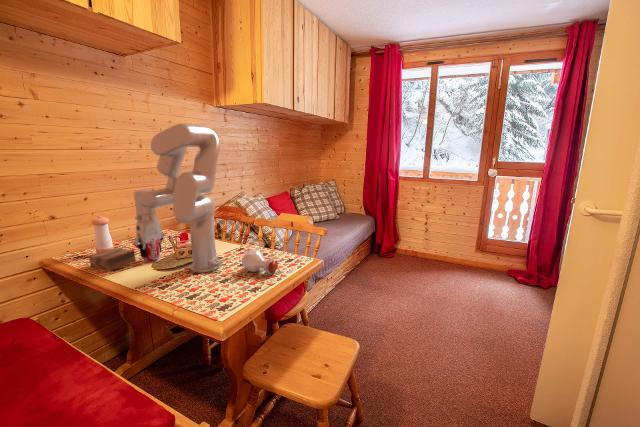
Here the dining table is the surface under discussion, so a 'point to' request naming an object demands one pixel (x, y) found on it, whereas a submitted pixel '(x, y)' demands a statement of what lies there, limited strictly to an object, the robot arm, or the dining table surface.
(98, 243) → the pepper shaker
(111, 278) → the dining table surface
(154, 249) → the soda can
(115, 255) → the walnut block
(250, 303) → the dining table surface
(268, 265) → the potion bottle
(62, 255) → the dining table surface
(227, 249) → the dining table surface
